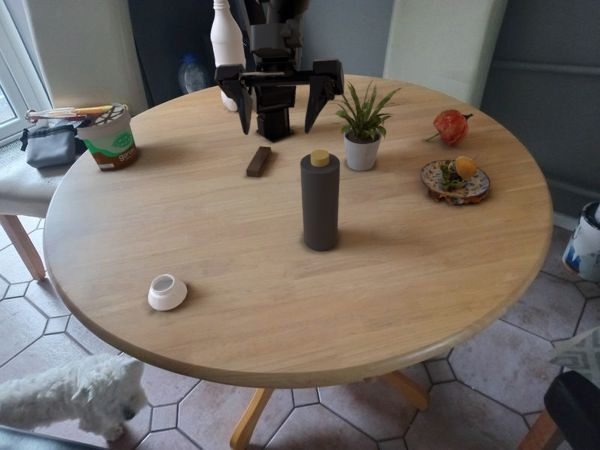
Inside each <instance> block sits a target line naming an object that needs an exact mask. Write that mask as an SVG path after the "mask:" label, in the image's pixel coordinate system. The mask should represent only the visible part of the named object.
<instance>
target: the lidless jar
mask: <svg viewBox="0 0 600 450" xmlns="http://www.w3.org/2000/svg"><path fill="white" fill-rule="evenodd" d="M187 294H188V289H187V285H186V283H184V281H182V280H181V279H179V278H177V277H175V276H173V275H172V274H166V273H165V274H160V275H158V276H156V277H154V279H153V280H152V281H151V284H150V288H149V292H148V295H147V299H148V300H147V301H148V304H149V305H150V306H151V308H152V309H154V310H157V311H169V310H172V309H175V308H176V307H178V306H179V305H180V304H182V303H183V302H184V300H185V299H186V297H187Z"/></svg>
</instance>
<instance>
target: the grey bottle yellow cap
mask: <svg viewBox="0 0 600 450" xmlns="http://www.w3.org/2000/svg"><path fill="white" fill-rule="evenodd" d="M299 167H300V187H301V206H302V207H301V208H302V228H303V229H302V230H303V231H302V232H303V242H304V244H305V245H306V247H307V248H309V249H310V250H313V251H315V252H316V251H317V252H326V251H329V250H331V249H333V248H334V247H335V246H336V245H337V244H338V236H339V235H338V234H339V233H338V232H339V229H338V228H339V207H340V205H339V204H340V175H341V160H340V159H339V158H338V156H336V155H335V154H333V153H330V152H329V151H328V150H326V149H314V150H313V151H312V152H311V153H308V154H305V156H304V157H302V158H301V160H300V163H299Z"/></svg>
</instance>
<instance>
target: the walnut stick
mask: <svg viewBox="0 0 600 450" xmlns="http://www.w3.org/2000/svg"><path fill="white" fill-rule="evenodd" d="M271 156H272V147H271V146H262V145H261V146H260V145H259V147H258V149H257V150H256V152H255V154H254V155H253V157H252V159H251V161H250V162H249V164H248V166H247V168H246V169H245V171H246V172H245V173H246V176H247V177H253V178H260V176H261V174H262V172H263V170H264V168H265V166H266V165H267V163H268V161H269V159H270V157H271Z"/></svg>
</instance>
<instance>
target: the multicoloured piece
mask: <svg viewBox="0 0 600 450" xmlns="http://www.w3.org/2000/svg"><path fill="white" fill-rule="evenodd" d="M478 157H479V155H477V156H476V157H475V158H474V159H472V158H471V157H468V156H466V155H460V156H458V157H456V159H439V160H433V161H431V162H429V163H427V164H426V165H424V166H423V167H421V170H420V179H421V183H422V184H423V186H425V187H426V188H427V192H428V193H427V195H428V198H429V199H432V200H434V201H436V202H439V201H440V199H441V198H442V197H444V199H445V200H446V201H447V203H448V204H451V205H458V206H460V205H462V204H464V203H465V204H468V203H473V204H476V203H478V202H480V201H481V200H482V199H483V200H484V199H485V198H486V197H487V195H488V194H489V188H490V186H491V180H490V178H489V176H488V174H487V173H486V172H485V171H484V170H483V169H481V168H479V167H478V166H477V164H476V162H475V160H476V159H477V158H478Z"/></svg>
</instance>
